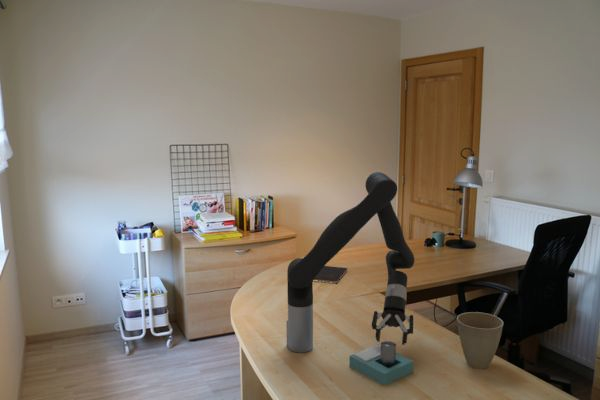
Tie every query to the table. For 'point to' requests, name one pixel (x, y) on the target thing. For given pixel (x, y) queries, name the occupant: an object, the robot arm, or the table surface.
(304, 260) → the robot arm
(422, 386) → the table surface
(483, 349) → the plant pot
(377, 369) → the jig
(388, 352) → the dark grey cylinder
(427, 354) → the table surface
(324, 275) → the hardcover book
